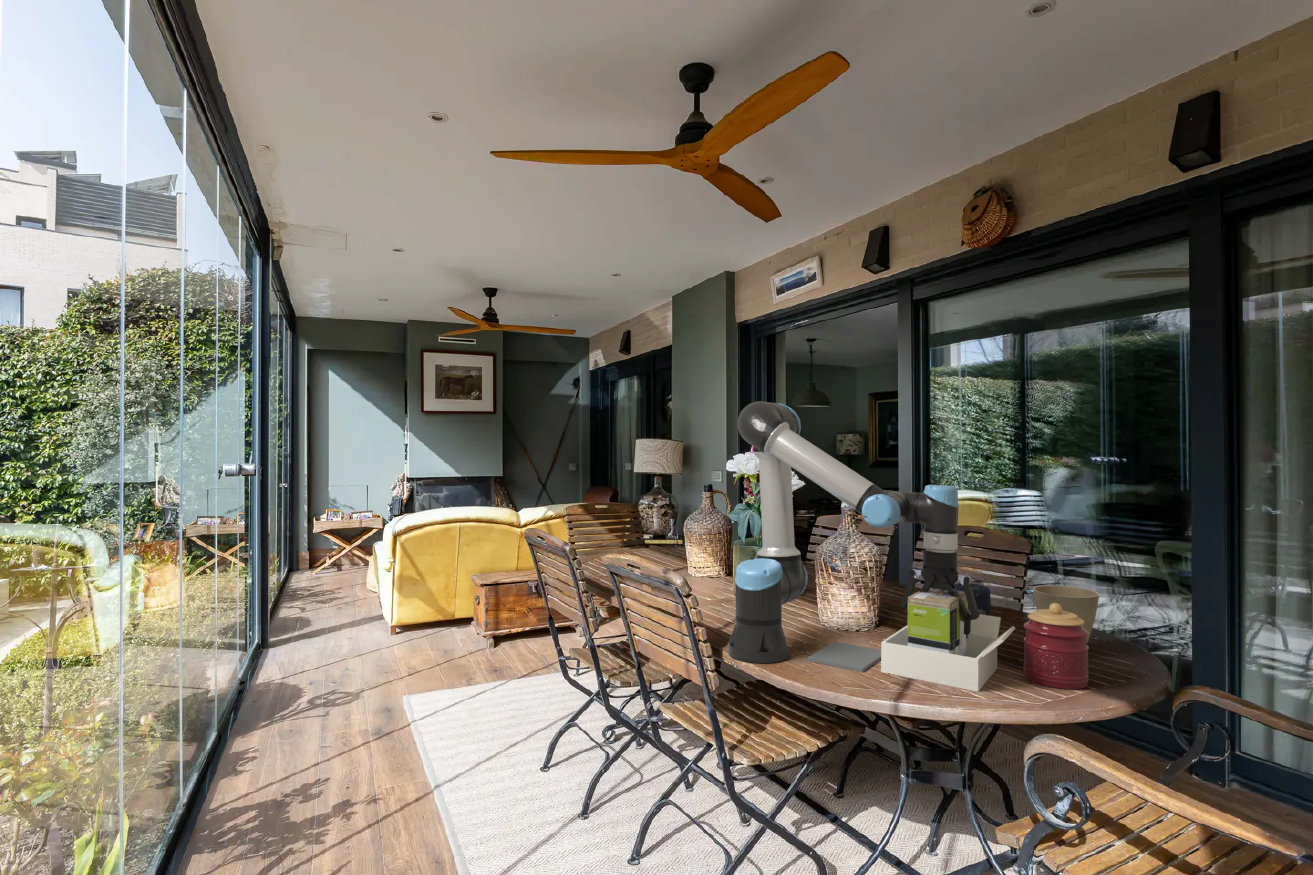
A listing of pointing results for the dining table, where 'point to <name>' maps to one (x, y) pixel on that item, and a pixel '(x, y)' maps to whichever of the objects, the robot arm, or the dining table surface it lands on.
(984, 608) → the canister
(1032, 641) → the canister
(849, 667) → the mat
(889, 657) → the carton
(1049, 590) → the plant pot
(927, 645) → the tea box
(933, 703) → the dining table surface
